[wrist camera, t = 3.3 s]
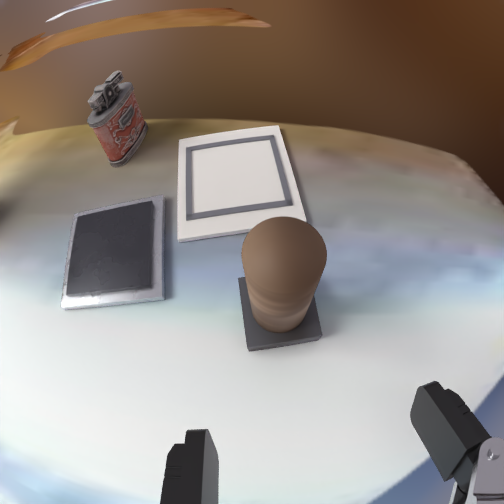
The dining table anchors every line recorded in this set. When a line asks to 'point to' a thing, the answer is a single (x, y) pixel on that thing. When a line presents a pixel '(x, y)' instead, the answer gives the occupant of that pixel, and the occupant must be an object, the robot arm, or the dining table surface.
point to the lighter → (117, 119)
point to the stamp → (281, 283)
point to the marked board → (234, 183)
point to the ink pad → (116, 255)
